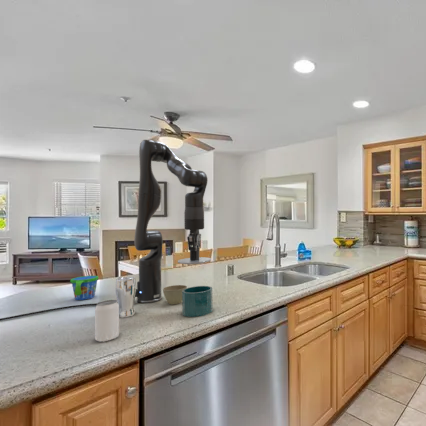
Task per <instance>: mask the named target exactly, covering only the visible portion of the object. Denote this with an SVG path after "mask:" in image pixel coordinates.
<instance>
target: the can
mask: <svg viewBox="0 0 426 426" xmlns="http://www.w3.org/2000/svg"><path fill="white" fill-rule="evenodd" d="M119 335H120V318H119V305H118V303H117V299H107V300H102V301H99V302H97V305H95V309H94V337H95V341H96V342H98V343H104V342H105V343H106V342H110V341H113V340H115V339H117V338H118V337H119Z"/></svg>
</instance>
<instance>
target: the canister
mask: <svg viewBox="0 0 426 426" xmlns="http://www.w3.org/2000/svg"><path fill="white" fill-rule="evenodd" d="M181 303H182V304H181V306H182V307H181V309H182V313H181V315H182V316H183V317H186V318H196V317H203V316H207V315H208V314H211V313H212V312H213V306H214V305H213V287H212V286H209V285H195V286H189V287H187V288H186V289H184V290H182V302H181Z"/></svg>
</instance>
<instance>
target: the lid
mask: <svg viewBox="0 0 426 426" xmlns="http://www.w3.org/2000/svg"><path fill="white" fill-rule="evenodd" d="M196 251H197V259H196V260H191V259H190V257H185V258H180V259H177V264H180V265H191V266H192V265H201V264H205V263H209V262H211V261H212V258H211V257H203V256H201V257H200V248H199V247H197V250H196Z"/></svg>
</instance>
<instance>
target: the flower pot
mask: <svg viewBox="0 0 426 426" xmlns="http://www.w3.org/2000/svg"><path fill="white" fill-rule="evenodd" d="M186 288H188V285H185V284H175V285H174V284H173V285H168V286H165V287H162V292H163V296H164V298H165V300H166V302H167V303H168V305H179V304H181V303H182V290H184V289H186Z"/></svg>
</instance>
